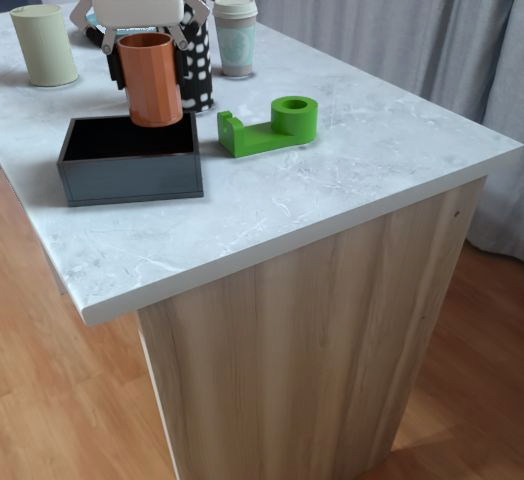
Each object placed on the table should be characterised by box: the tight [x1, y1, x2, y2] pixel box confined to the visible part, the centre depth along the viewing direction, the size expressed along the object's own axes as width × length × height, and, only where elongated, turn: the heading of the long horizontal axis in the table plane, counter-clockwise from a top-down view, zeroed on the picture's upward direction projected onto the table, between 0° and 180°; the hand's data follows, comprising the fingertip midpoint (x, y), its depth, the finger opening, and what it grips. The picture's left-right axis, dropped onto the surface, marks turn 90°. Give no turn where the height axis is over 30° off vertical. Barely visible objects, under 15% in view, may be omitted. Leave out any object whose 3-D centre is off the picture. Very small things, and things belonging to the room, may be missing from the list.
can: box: [9, 3, 79, 87], centre depth 97 cm, size 9×9×12 cm
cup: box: [116, 32, 183, 127], centre depth 65 cm, size 7×7×9 cm
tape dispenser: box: [216, 95, 319, 159], centre depth 79 cm, size 15×7×5 cm, turn 116°
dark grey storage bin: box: [55, 110, 205, 208], centre depth 70 cm, size 17×14×6 cm
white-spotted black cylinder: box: [156, 0, 215, 113], centre depth 84 cm, size 8×8×20 cm
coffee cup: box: [211, 0, 259, 77], centre depth 99 cm, size 8×9×12 cm
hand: (151, 83), depth 65 cm, fingers closed on cup, 6 cm apart
